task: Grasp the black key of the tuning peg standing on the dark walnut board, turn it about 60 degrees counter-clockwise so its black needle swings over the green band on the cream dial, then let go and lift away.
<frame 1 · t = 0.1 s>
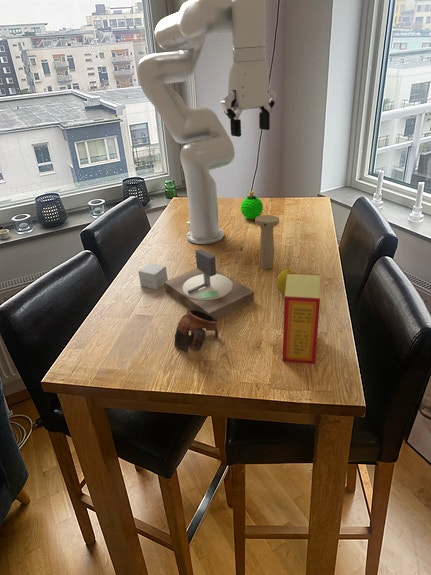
hand: (250, 132, 108), 37 cm above the table, tool pointing down, fingers open, 9 cm apart
lemon: (287, 297, 108), on the table
peg: (197, 273, 105), point 8 cm above the table, hinge at 0.0°
ornament: (251, 218, 155), on the table
baking soda box: (299, 348, 91), on the table
handle: (266, 267, 122), on the table
dial: (207, 285, 109), on the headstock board, point 3 cm above the table
broken clay pot: (196, 344, 94), on the table
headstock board: (208, 296, 111), on the table
small box: (154, 284, 118), on the table
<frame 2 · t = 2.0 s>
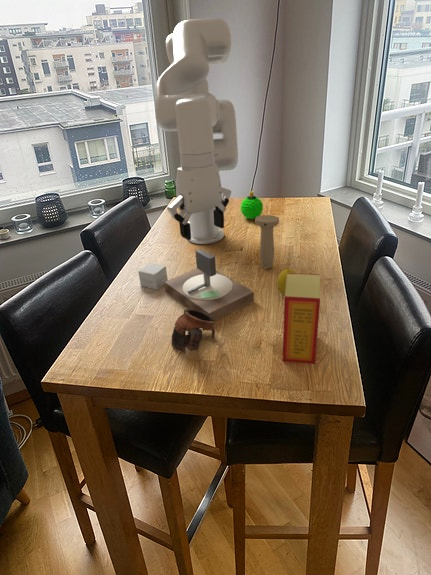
hand: (203, 232, 101), 18 cm above the table, tool pointing down, fingers open, 9 cm apart
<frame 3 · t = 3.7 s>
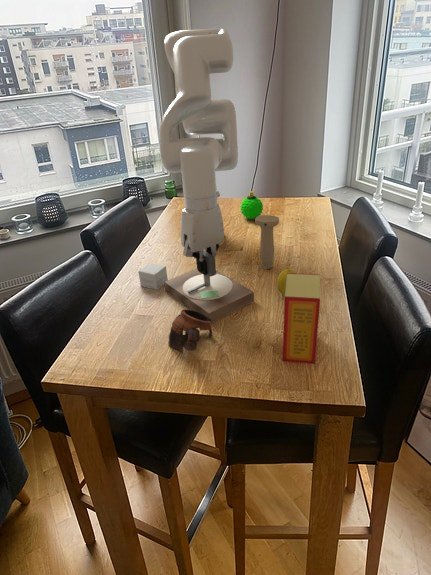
hand: (206, 270, 107), 8 cm above the table, tool pointing down, fingers closed on peg
peg: (197, 273, 105), point 8 cm above the table, hinge at 0.0°, touching gripper
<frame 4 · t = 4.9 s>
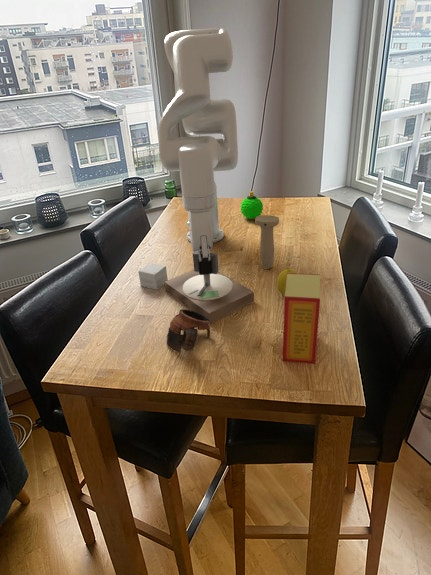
hand: (204, 269, 107), 8 cm above the table, tool pointing down, fingers closed on peg, 3 cm apart
peg: (202, 274, 104), point 8 cm above the table, hinge at 32.4°, touching gripper
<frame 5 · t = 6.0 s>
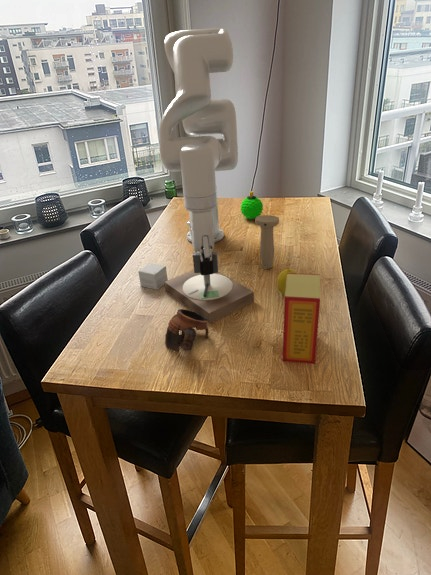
hand: (206, 269, 106), 8 cm above the table, tool pointing down, fingers open, 3 cm apart
peg: (205, 274, 104), point 8 cm above the table, hinge at 47.3°
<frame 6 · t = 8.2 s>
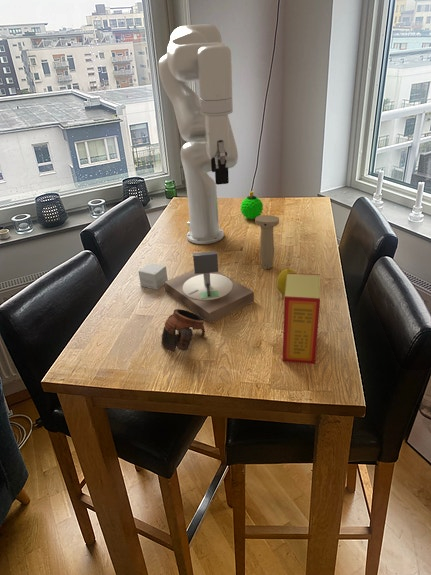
hand: (219, 177, 108), 27 cm above the table, tool pointing down, fingers open, 9 cm apart
peg: (206, 274, 104), point 8 cm above the table, hinge at 57.0°
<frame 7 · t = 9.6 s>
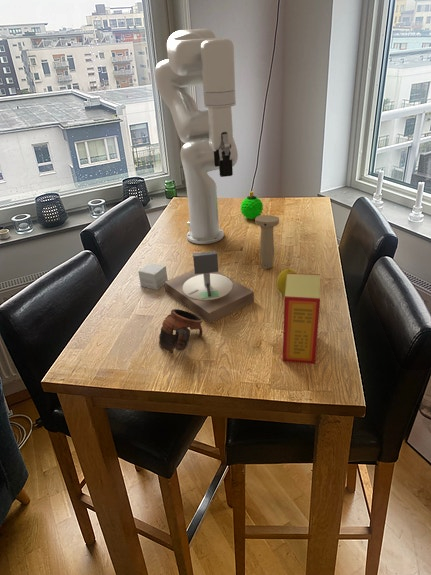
hand: (223, 170, 109), 28 cm above the table, tool pointing down, fingers open, 9 cm apart
peg: (207, 274, 104), point 8 cm above the table, hinge at 58.4°
at the end: peg at +58° (first picture: +0°); the gripper is holding nothing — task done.
